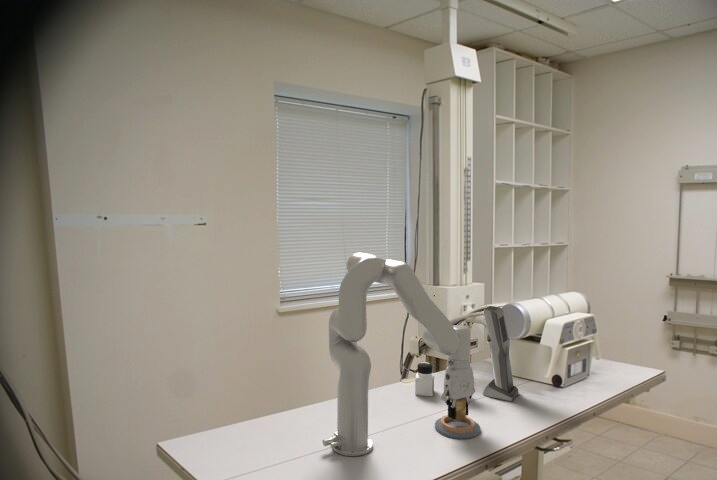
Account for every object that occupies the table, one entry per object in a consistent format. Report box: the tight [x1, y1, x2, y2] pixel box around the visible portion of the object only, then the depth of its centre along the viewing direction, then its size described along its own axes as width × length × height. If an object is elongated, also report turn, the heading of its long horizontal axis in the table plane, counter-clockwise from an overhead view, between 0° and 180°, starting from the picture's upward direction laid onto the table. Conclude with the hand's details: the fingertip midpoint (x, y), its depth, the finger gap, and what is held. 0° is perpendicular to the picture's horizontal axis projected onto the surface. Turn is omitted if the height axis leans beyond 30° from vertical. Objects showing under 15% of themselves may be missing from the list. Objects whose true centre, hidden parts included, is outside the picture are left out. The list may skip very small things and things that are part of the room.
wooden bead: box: [451, 398, 466, 421], centre depth 154 cm, size 5×5×7 cm
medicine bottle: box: [414, 362, 435, 397], centre depth 187 cm, size 7×7×12 cm
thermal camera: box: [482, 305, 519, 403], centre depth 185 cm, size 12×13×35 cm
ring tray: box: [434, 414, 481, 440], centre depth 155 cm, size 15×15×2 cm
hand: (458, 415), depth 154 cm, fingers closed on wooden bead, 4 cm apart
